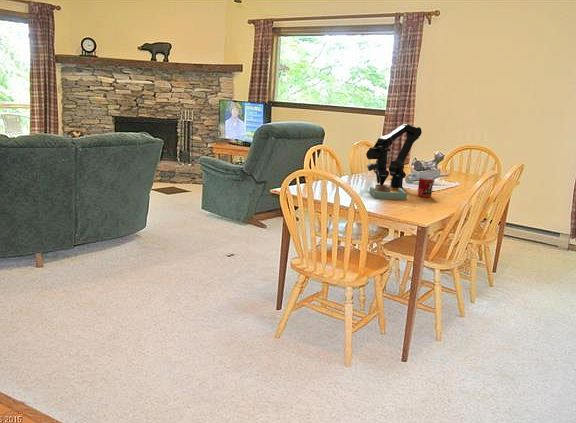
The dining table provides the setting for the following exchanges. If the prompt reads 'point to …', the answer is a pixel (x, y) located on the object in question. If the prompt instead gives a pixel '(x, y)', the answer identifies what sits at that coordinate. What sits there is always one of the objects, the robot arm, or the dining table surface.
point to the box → (389, 194)
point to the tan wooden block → (382, 188)
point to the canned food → (425, 186)
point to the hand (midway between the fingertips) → (379, 184)
